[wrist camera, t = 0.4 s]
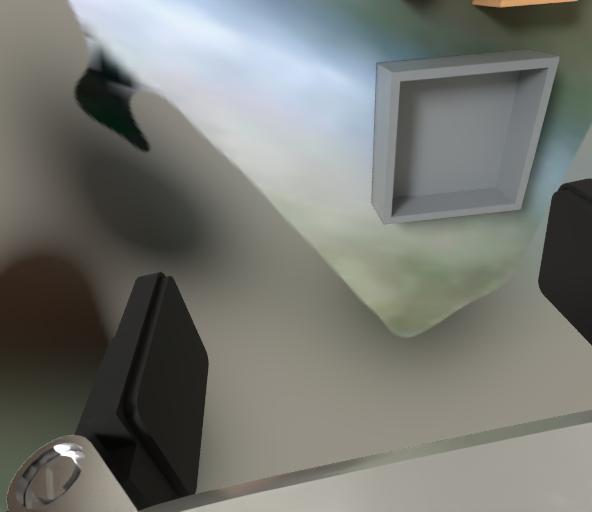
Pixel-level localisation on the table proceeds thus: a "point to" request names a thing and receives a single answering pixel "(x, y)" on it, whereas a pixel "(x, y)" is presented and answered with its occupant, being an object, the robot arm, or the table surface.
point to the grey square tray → (457, 133)
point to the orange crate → (514, 2)
